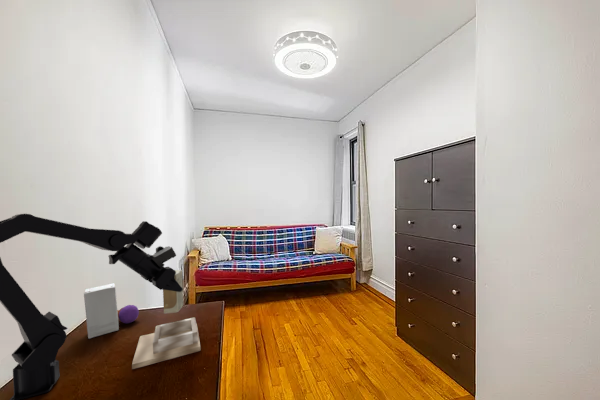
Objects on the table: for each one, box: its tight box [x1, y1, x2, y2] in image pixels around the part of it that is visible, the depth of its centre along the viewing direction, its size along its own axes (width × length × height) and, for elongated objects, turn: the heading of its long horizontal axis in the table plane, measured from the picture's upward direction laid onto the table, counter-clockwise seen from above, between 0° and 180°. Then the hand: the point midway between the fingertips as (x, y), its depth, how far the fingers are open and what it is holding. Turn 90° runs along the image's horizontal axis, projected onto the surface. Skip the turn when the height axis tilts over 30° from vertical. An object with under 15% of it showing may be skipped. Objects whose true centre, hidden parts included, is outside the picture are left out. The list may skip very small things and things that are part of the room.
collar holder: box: [131, 317, 202, 370], centre depth 76 cm, size 16×16×4 cm
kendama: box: [117, 304, 140, 324], centre depth 96 cm, size 6×6×20 cm
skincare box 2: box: [162, 269, 184, 314], centre depth 85 cm, size 6×4×12 cm
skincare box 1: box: [83, 282, 120, 340], centre depth 86 cm, size 8×6×15 cm
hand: (177, 288), depth 86 cm, fingers closed on skincare box 2, 7 cm apart
